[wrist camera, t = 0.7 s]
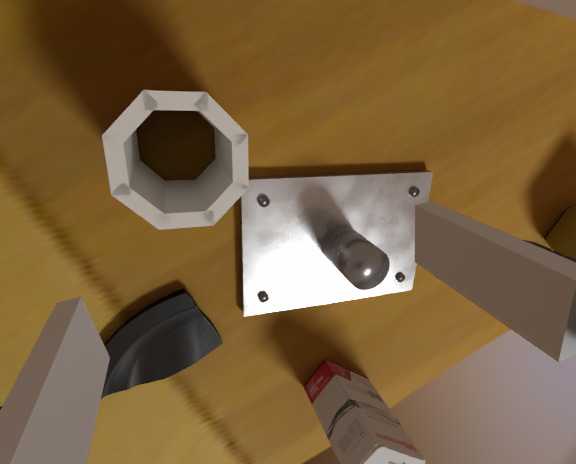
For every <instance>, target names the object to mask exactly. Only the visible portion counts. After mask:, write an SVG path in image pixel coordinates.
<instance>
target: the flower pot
mask: <svg viewBox="0 0 576 464" xmlns="http://www.w3.org/2000/svg"><path fill="white" fill-rule="evenodd" d="M546 242H547V243H548V245H549V246H550V247H551V248H552V249H553V250H554V251H557V252H559V253H562V254H564V256H569V257H571V258H574V259H576V206H573V207H570V208H568V209H567V210H566V211H565V213H564V214H563V215H562V217H561V218H560V219H559V221H558V222H557V224H556V225H555V226H554V228H553V229H552V230H551V231H550V233H549V234H548V236H547V237H546Z"/></svg>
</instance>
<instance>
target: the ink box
mask: <svg viewBox="0 0 576 464" xmlns="http://www.w3.org/2000/svg"><path fill="white" fill-rule="evenodd" d="M304 389H305V391H306V393H307V395H308V397H309V399H310V401H311V403H312V406H313V408H314V410H315V412H316V414H317V416H318V418H319V420H320V422H321V425H322V427H323V429H324V431H325V433H326V435H327V437H328V439H329V442H330V444H331V446H332V448H333V450H334V452H335V454H336V456H337V459H338V461H339V463H340V464H425V462H426V460H425V458H424V457H423V456H422V454H421V453H420V451H419V450H418V449H417V447H416V446H415V444H414V443H413V442H412V441H411V439H410V437H409V436H408V435H407V433H406V432H405V430H404V429H403V427H402V426H401V425H400V423H399V422H398V420H397V419H396V418H395V416H394V415H393V413H392V412H391V411H390V409H389V408H388V406H387V405H386V403H385V402H384V401H383V399H382V398H381V396H380V395H379V393H378V392H377V390H376V389H375V388H374V386H373V385H372V383H371V382H370V380H369V379H367V378H364V377H362V376H360V375H358V374H356V373H354V372H352V371H349V370H347V369H345V368H343V367H341V366H339V365H337V364H335V363H332V362H330V361H328V360H326V361H325V362H324V363H323V364H322V365H321V366H320V367H319V369H318V370H317V371H316V372H315V374H314V375H313V376H312V377H311V379H310V380H309V381H308V383H307V384H306V385H305V387H304Z"/></svg>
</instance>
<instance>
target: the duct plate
mask: <svg viewBox="0 0 576 464" xmlns="http://www.w3.org/2000/svg"><path fill="white" fill-rule="evenodd" d="M432 176H433V172H432V171H428V170H416V171H391V172H366V173H342V174H317V175H292V176H267V177H248V178H249V189H247V190H246V192H245V193H244V194H243V195H242V196H241V197H240V240H241V285H242V312H243V315H244V317H245V316H251V315H257V314H264V313H270V312H276V311H283V310H289V309H295V308H301V307H308V306H314V305H320V304H327V303H333V302H339V301H346V300H352V299H358V298H365V297H371V296H377V295H384V294H390V293H396V292H403V291H409V290H412V287H413V281H414V276H415V270H416V264H417V263H416V262H415V205H418V204H421V203H425V202H428V198H429V193H430V187H431V181H432Z"/></svg>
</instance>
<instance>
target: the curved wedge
mask: <svg viewBox="0 0 576 464" xmlns="http://www.w3.org/2000/svg"><path fill="white" fill-rule="evenodd" d="M222 343H223V342H222V340H221V338H220V335H219V333H218V331H217V330H216V328H215V326H214V325H213V324H212V322H211V321H210V320H209V318H208V317H207V316H206V315H205V314H204V313H203V312H202V311H201V310H200V309H199V308H198V307H197V304H196V303H195V301H194V300H193V298H192V297H190V296H189V295H188V294H187V293H185V290H184V289H181V290H179V291H176V292H174V293H172V294H170V295H168V296H166V297H164V298H162V299H160V300H158V301H156V302H154V303H152V304H151V305H149V306H147V307H146V308H144V309H143V310H141V311H140V312H138V313H137V314H136V315H134V316H133V317H132V318H130V319H129V320H128V321H126V322H125V323H124V324H123V325H122V326H121V327H120V328H119V329H118V330H117V331H116V332H115V333H114V334H113V335H112V336H111V337H110V338H109V339H108V341H107V342H106V343H105V345H104V346H105V348H106V350H107V352H108V354H109V357H110V360H109V364H108V369H107V373H106V378H105V382H104V387H103V392H102V396H101V399H102V398H103V397H104V396H106V395H109V394H112V393H115V392H119V391H123V390H127V389H130V388H132V387H133V386H136V385H140V384H144V383H149V382H153V381H157V380H163V379H165V378H167V377H170V376H172V375H174V374H176V373H178V372H179V371H181V370H183V369H185V368H187V367H189V366H191V365H192V364H194V363H196V362H197V361H199V360H200V359H201V358H203V357H204V356H205V355H207V354H208V353H210V352H211V351H212V350H213V349H215V348H216V347H218V346H219V345H221V344H222Z"/></svg>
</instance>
